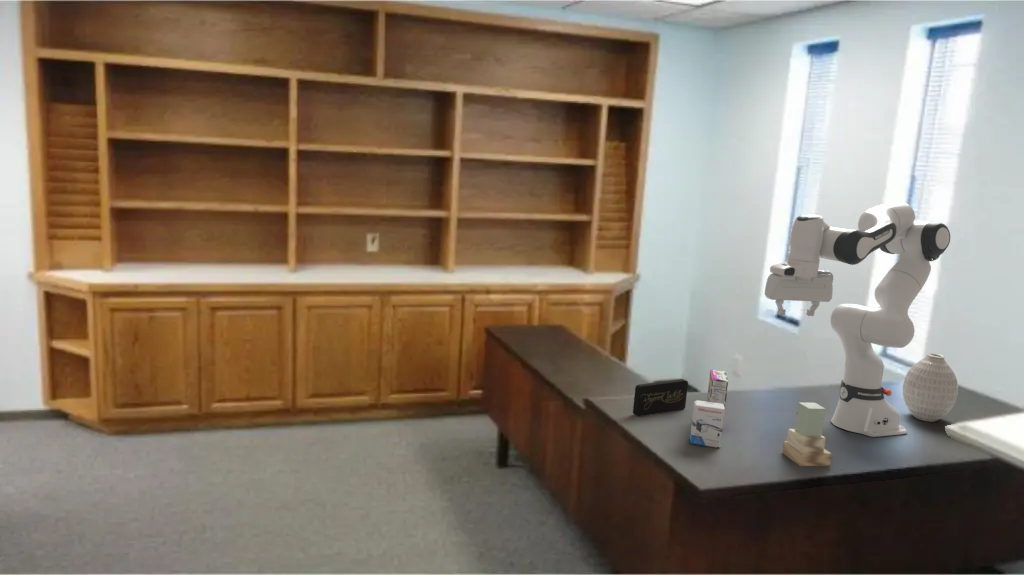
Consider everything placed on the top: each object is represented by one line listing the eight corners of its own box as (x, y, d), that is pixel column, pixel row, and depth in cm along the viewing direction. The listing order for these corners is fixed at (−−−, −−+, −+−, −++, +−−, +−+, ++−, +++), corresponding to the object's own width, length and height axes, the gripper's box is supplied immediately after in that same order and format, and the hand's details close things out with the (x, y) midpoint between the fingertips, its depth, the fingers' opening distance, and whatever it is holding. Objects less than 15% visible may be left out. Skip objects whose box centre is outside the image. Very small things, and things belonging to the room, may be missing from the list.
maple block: (808, 441, 211) (810, 428, 210) (823, 451, 204) (825, 437, 204) (786, 442, 210) (788, 428, 209) (801, 451, 203) (803, 438, 202)
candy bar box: (703, 418, 235) (709, 369, 232) (720, 420, 234) (726, 371, 231) (705, 430, 224) (712, 378, 222) (722, 433, 224) (729, 381, 221)
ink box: (689, 444, 213) (694, 405, 211) (689, 437, 218) (694, 399, 215) (720, 448, 211) (725, 409, 209) (719, 442, 216) (724, 403, 214)
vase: (907, 406, 263) (917, 346, 259) (958, 420, 252) (969, 357, 248) (891, 415, 252) (901, 352, 248) (943, 430, 240) (955, 364, 237)
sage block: (810, 429, 210) (814, 402, 208) (821, 436, 205) (825, 408, 203) (794, 429, 209) (798, 402, 207) (805, 436, 204) (809, 408, 202)
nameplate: (636, 417, 232) (639, 386, 231) (632, 415, 234) (635, 384, 232) (685, 409, 243) (688, 380, 242) (681, 407, 245) (684, 378, 243)
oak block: (811, 454, 213) (812, 440, 212) (829, 467, 204) (831, 453, 203) (782, 454, 211) (784, 440, 210) (799, 467, 202) (801, 453, 202)
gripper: (827, 269, 223) (821, 314, 225) (765, 266, 219) (759, 311, 222) (840, 272, 217) (833, 318, 219) (776, 269, 213) (770, 316, 216)
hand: (795, 315), depth 220 cm, fingers open, 8 cm apart
